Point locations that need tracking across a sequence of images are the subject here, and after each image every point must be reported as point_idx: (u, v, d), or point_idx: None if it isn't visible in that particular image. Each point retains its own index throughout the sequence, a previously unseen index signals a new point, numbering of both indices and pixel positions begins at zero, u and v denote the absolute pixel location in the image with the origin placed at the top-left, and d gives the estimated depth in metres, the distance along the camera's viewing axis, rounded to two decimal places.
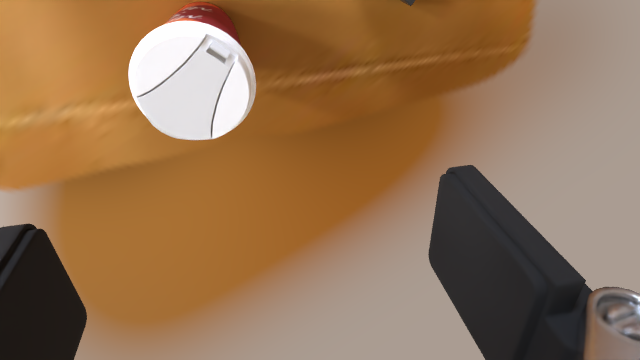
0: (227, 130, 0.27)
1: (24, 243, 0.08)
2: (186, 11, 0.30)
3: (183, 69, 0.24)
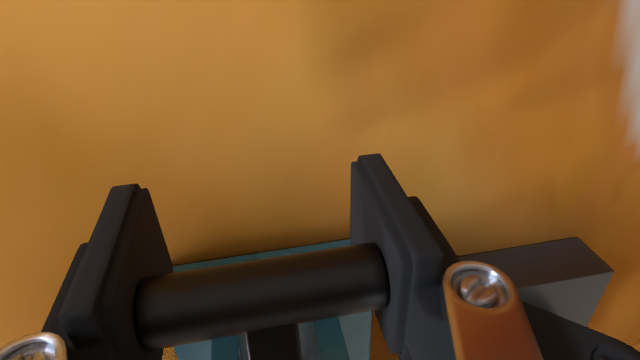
0: None
1: (137, 199, 0.09)
2: None
3: None
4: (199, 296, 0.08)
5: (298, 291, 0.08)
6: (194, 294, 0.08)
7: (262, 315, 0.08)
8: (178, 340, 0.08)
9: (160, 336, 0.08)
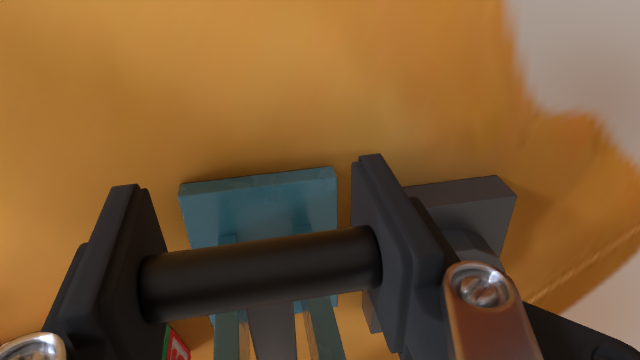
0: None
1: (137, 199, 0.09)
2: None
3: None
4: (202, 293, 0.08)
5: (297, 288, 0.09)
6: (197, 292, 0.08)
7: (262, 303, 0.09)
8: (185, 318, 0.09)
9: (168, 321, 0.08)
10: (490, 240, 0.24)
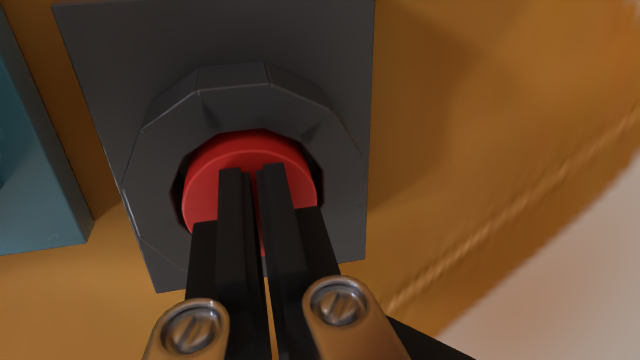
0: None
1: (245, 181, 0.10)
2: None
3: None
4: None
5: None
6: None
7: None
8: None
9: None
10: (341, 98, 0.12)
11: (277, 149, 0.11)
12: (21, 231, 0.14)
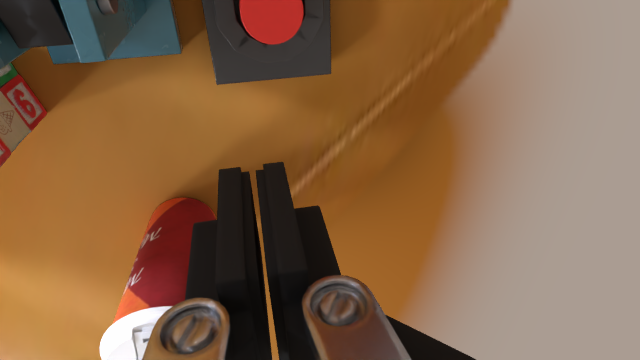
0: None
1: (245, 181, 0.10)
2: (138, 256, 0.30)
3: None
4: None
5: None
6: None
7: None
8: None
9: None
10: None
11: None
12: (150, 41, 0.27)
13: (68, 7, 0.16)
